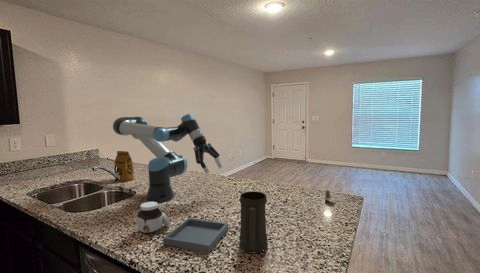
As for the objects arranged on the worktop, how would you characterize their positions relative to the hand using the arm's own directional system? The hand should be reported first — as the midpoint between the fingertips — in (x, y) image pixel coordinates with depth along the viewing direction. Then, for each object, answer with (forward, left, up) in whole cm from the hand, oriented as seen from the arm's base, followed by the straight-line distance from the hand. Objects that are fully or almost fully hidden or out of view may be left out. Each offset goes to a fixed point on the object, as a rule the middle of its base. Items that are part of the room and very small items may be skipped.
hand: (214, 170), depth 147 cm
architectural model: (+62, +12, -17) cm, 65 cm away
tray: (+12, -45, -17) cm, 49 cm away
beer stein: (+36, -47, -17) cm, 61 cm away
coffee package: (-81, +18, -17) cm, 85 cm away
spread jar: (-9, -44, -17) cm, 48 cm away
